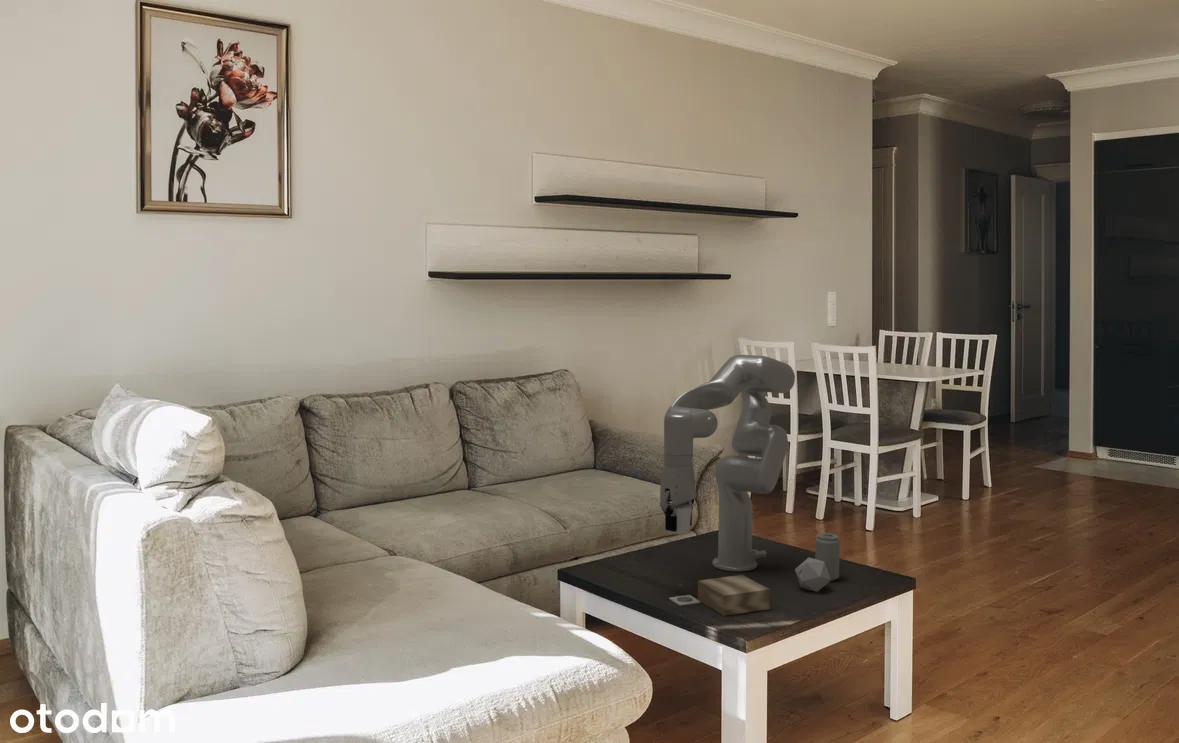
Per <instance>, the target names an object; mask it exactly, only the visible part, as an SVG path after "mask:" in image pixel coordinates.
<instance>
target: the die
mask: <svg viewBox="0 0 1179 743" xmlns="http://www.w3.org/2000/svg"><path fill="white" fill-rule="evenodd" d="M794 571H795V574H796V576H797V577H796V578H797V579H798V582H799V586H800V588H801V589H804V590H807V591H812V592H814V591H815V593H818V592H819V591H820V590H821V589H823V587H825V586H826V585H827V584H828V583H829V582H831V581H830V580H831V578H830V575H829V573H828V570H827V567H826V564H825V562H824V561H820V560H817V559H815V558H812V557H807V558H806V559H805V560H804V561H803V562H802V563H800V565H798V566H797V567H795V569H794Z"/></svg>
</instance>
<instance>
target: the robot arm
mask: <svg viewBox="0 0 1179 743" xmlns="http://www.w3.org/2000/svg"><path fill="white" fill-rule="evenodd" d="M795 382H796V374H795V371H794V370H793V367H792V366H790V364H788V363H786V362H783V361H780V360H777V359H776V358H775V359H774V358H772V357H770V356H765V355H752V354H736V355H733V356H730V357H729V358H728V359H727V361H725V362H724V364H723V365H722V366H721V367H720V368H719V369H718V370H717V372H716V373H715V374H714V375H713V376H712V377H711V379H710V380H709V381H708V382H705V383H702V384H700V385H698V386H695V387H693V388H691V389H689V390H687V391H685V392H683V393H682V394H680V395H679V396H678V397H677V398H676V399H675V400H674V401H673V402H672V403H671V405H670V406H669V407H668V409H667V411H666V412H665V415H664V418H663V467H662V469H661V470H662V471H661V477H660V491H659V502H660V503H659V507H660V508H661V510H662V512H663V515H664V516H665V517H664V518H665V519H664V520H665V521H664V522H665V523H664V526H665V528H664V529H665V530H666V531H667V532H668V531H674V532H675V531H677V516H675V513H676V508H677V505H680V504H683V503H687V504H690V505H692V509H691V520H690V527H692V525H693V522H692V520H693V515H692V514H693V510H694V503H695V500H696V497H697V495H698V493H697V491H696V482H695V480H696V479H695V478H696V477H695V470H694V469H695V468H694V439H704V438H708V437H711V436H712V435H714V433H715V432H716V431H717V429H718V419H717V416H716V414H715V413H714V412H712V411H711V410H715V409H719V408H723V407H727V406H729V405H731V404H732V403H733V402H734V401H735V400H736V398H737V397H738V396H739V395H740V394H741V399H742V409H741V412H740V415H739V417H738V420H737V423H736V426H735V429H734V433H733V435H732V440H731V448H732V449H733V450H734V452H736V453H737V454H739V455H726V456H723V457H722V458H720V459H719V460H718V462H717V464H716V466H715V477H716V478H715V479H716V484H717V492H718V536H717V537H718V544H717V545H718V548H717V557H715V558H714V559H713V560H712V566H713V567H714V568H716V569H718V570H721V571H728V572H737V573H738V572H739V573H740V572H750V571H753V570H755V569H756V568H757V567H758V562H757V561H756V560H758V558H761V559H762V558H766V557H767V555H768V553H767V551H766V549H764V550H758V549H753V513H754V512H753V511H754V509H753V502H752V499H751V496H750V494H749V493H753V494H759V495H760V494H761V495H765V494H769V493H771V492H772V491H773V490H774V489H775V486H776V485H777V482H778V479H779V476H780V473H781V470H782V466H783V464H784V461H785V457H786V454H787V450H788V448H789V447H788V446H789V441H788V439H789V438H788V435H787V431H786V430H785V429H784V428H783V427H782V426H779V425H776V424H770V420H771V417H772V408H771V404H770V402H769V401H768V399H767V398H766V395H765V394H764V393H774V394H776V393H777V394H787V393H788V392H790V391H791V390H792V389H793V387H794V385H795ZM741 455H743V456H741ZM749 456H750V457H749ZM671 503H672V504H671ZM670 506H672V510H671V509H670Z"/></svg>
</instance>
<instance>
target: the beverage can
mask: <svg viewBox="0 0 1179 743" xmlns="http://www.w3.org/2000/svg"><path fill="white" fill-rule="evenodd" d="M840 543H841V541H840V538H839V535H837V534H834V533H829V532H828V533H826V532H825V533H823V532H822V533H818V534H816V538H815V551H814V552H815V553H814V554H815V556H814V559H817V560H820V561H824V562H825V564H826V567H827V570H828V573H829V575H830V578H831V580H830V581H829V582H834V581H836V580H837V579H839V577H840V553H841V552H840V548H841V547H840Z"/></svg>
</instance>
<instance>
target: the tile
mask: <svg viewBox="0 0 1179 743" xmlns="http://www.w3.org/2000/svg"><path fill="white" fill-rule="evenodd" d="M668 600H669V601H671V602H673V603H675V604H676V605H678V606H679V607H681V606H682V607H683V606H689V605H698V604H701V603H702V602H701V601H699V600H698V598H695V597H694V596H692V595H691V594H686V595H678V596H671V597H668Z"/></svg>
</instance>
